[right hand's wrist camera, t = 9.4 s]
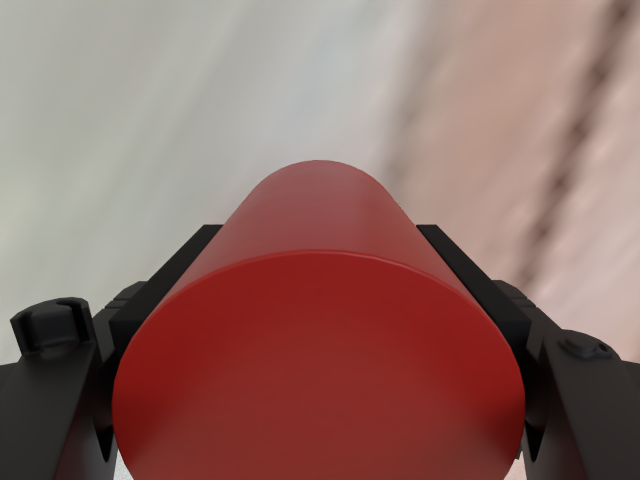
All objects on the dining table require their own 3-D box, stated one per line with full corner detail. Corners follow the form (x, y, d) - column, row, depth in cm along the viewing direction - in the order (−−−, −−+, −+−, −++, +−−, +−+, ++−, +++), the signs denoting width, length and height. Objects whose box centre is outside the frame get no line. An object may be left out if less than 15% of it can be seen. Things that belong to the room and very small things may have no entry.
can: (255, 330, 17) (182, 583, 8) (214, 176, 14) (36, 291, 5) (411, 307, 16) (522, 547, 7) (396, 145, 14) (534, 212, 5)
